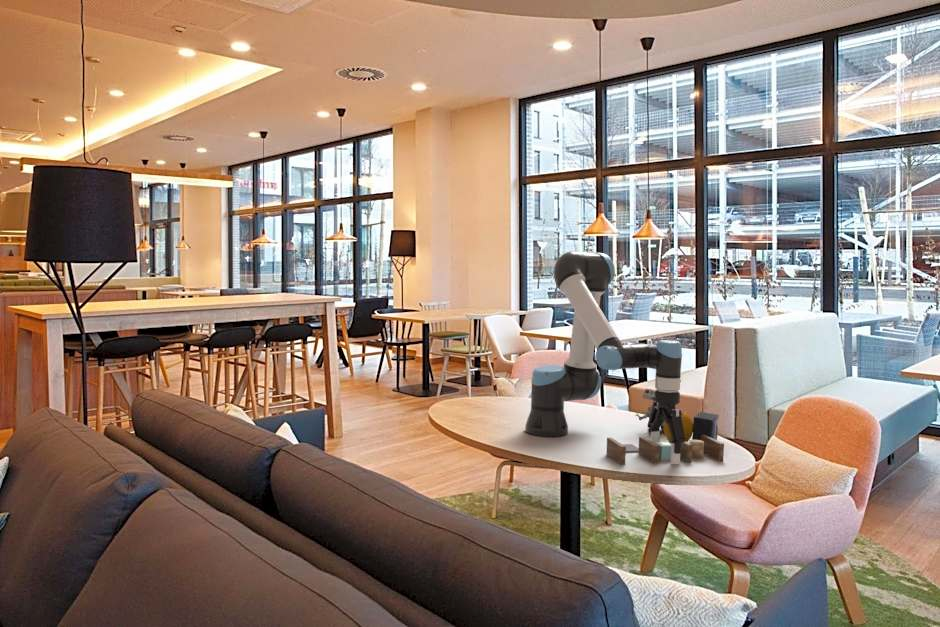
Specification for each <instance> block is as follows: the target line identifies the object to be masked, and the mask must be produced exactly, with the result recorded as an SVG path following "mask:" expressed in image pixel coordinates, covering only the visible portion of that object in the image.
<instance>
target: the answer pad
mask: <svg viewBox="0 0 940 627" xmlns="http://www.w3.org/2000/svg"><path fill="white" fill-rule="evenodd" d="M621 444H622V443H621ZM622 445H624V446H626V454H627V453H631V454H632V453H638V451H639V447H638V446H636V445H634V444H633V443H629V444H628V443H627V444H625V443H623V444H622Z"/></svg>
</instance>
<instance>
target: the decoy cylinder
mask: <svg viewBox="0 0 940 627" xmlns="http://www.w3.org/2000/svg"><path fill="white" fill-rule="evenodd" d="M688 443H690V444H692V456H691V459H695V458H696V459H697V460H698V459H700V460H701V458H702V459H703V458H704V441H701V440H692V439H689V441H688Z"/></svg>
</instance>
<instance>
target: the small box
mask: <svg viewBox="0 0 940 627" xmlns="http://www.w3.org/2000/svg"><path fill="white" fill-rule="evenodd" d="M692 422H693V433H692V436H691V440H701V435H707V436H709V437H711V438H713V439H715V440H717V441H718V431H719V430H718V429H719V414H716V413H710V412H703V411H700V412H699V413H697V414H696V415H694V416H693V419H692Z"/></svg>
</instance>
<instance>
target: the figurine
mask: <svg viewBox="0 0 940 627" xmlns="http://www.w3.org/2000/svg"><path fill="white" fill-rule="evenodd" d="M656 390H657V389H652V388H645V389H644V392H643V394H642V399H644V400H650V401H653V402H655V391H656ZM652 408H653V404H651V406H648V407H647V411H648V412H646V413H645V414H644V415H643V416H640V415H639V413H638V412H636V414H635V417H638V420H639V421H642V420H644V419H647V418H648V419H649V418H650V415H651V412H652ZM664 422H665V420H664V421H663V423H662V424H661V426H660V431H659V432H660V433H661V430H663V424H664ZM651 424H652V423H651ZM647 428H648V427H647ZM647 431H648V433H651V431H650V428H648V430H647Z"/></svg>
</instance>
